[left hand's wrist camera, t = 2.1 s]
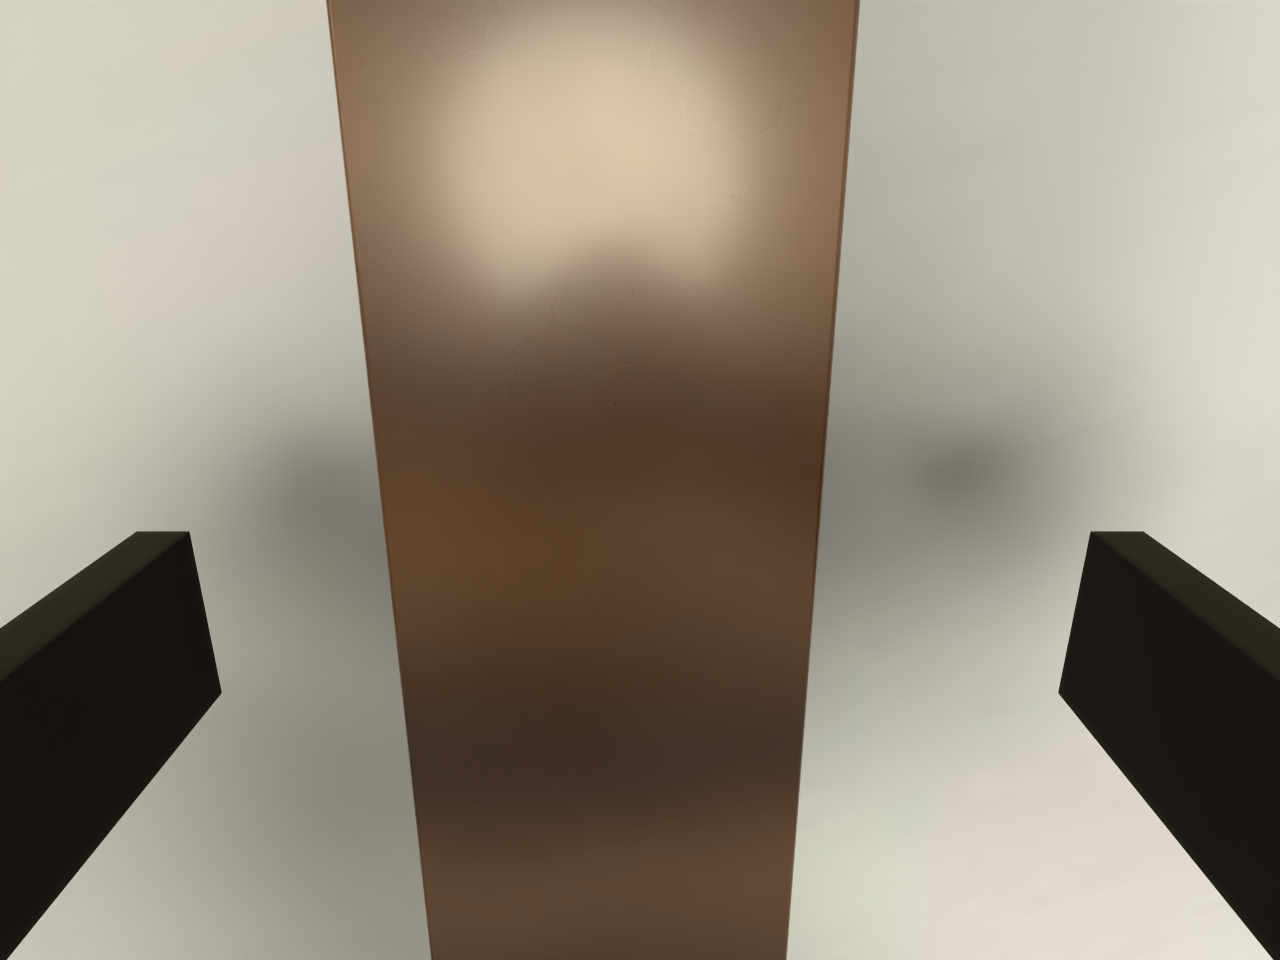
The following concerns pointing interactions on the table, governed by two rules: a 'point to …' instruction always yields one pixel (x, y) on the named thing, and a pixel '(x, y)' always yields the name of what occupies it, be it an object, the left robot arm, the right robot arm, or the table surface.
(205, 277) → the table surface
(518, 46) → the bar
